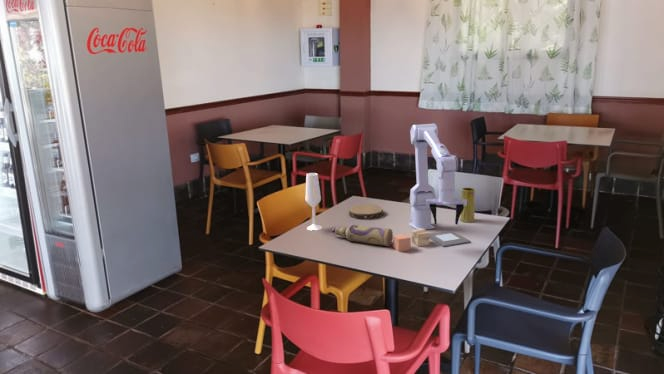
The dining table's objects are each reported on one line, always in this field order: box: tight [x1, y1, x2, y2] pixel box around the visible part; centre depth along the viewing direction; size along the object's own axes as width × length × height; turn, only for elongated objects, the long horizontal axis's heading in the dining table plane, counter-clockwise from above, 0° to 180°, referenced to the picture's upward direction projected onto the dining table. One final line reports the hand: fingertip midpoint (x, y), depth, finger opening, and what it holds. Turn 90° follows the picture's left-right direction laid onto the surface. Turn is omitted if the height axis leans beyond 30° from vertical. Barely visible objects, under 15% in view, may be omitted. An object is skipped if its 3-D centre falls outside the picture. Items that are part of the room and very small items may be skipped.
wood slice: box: [348, 203, 384, 221], centre depth 237 cm, size 16×16×3 cm
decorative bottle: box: [331, 224, 394, 247], centre depth 202 cm, size 26×8×7 cm, turn 61°
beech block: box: [411, 229, 430, 247], centre depth 197 cm, size 5×5×5 cm
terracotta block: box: [392, 233, 412, 253], centre depth 193 cm, size 5×5×5 cm
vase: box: [459, 187, 476, 223], centre depth 221 cm, size 6×6×14 cm
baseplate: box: [429, 229, 472, 248], centre depth 201 cm, size 14×12×1 cm
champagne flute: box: [304, 172, 323, 231], centre depth 218 cm, size 7×7×24 cm
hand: (445, 223), depth 191 cm, fingers open, 7 cm apart
